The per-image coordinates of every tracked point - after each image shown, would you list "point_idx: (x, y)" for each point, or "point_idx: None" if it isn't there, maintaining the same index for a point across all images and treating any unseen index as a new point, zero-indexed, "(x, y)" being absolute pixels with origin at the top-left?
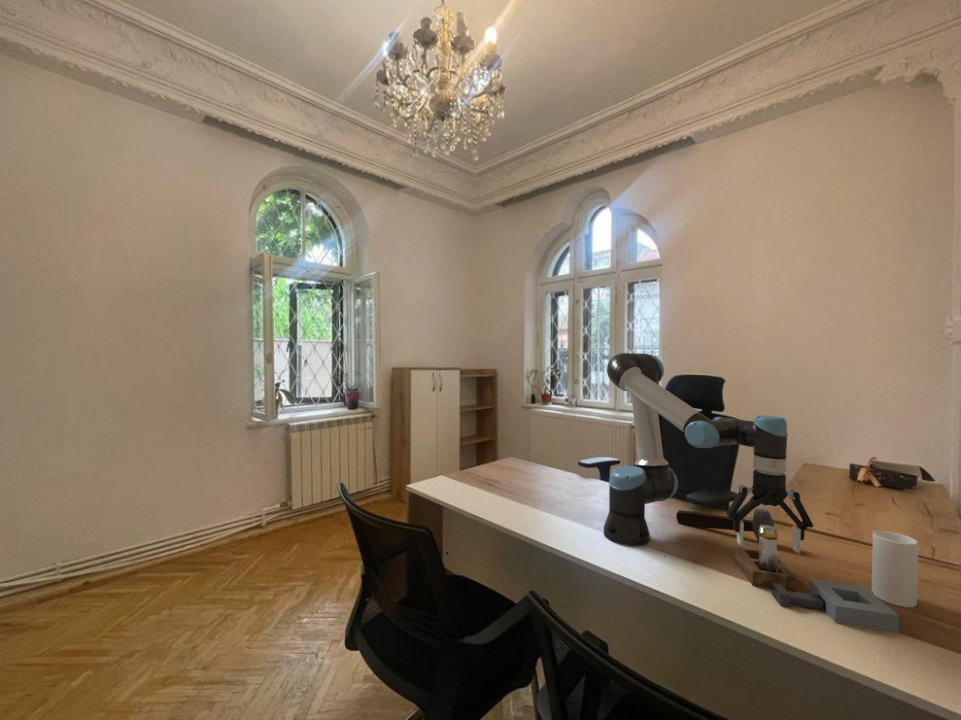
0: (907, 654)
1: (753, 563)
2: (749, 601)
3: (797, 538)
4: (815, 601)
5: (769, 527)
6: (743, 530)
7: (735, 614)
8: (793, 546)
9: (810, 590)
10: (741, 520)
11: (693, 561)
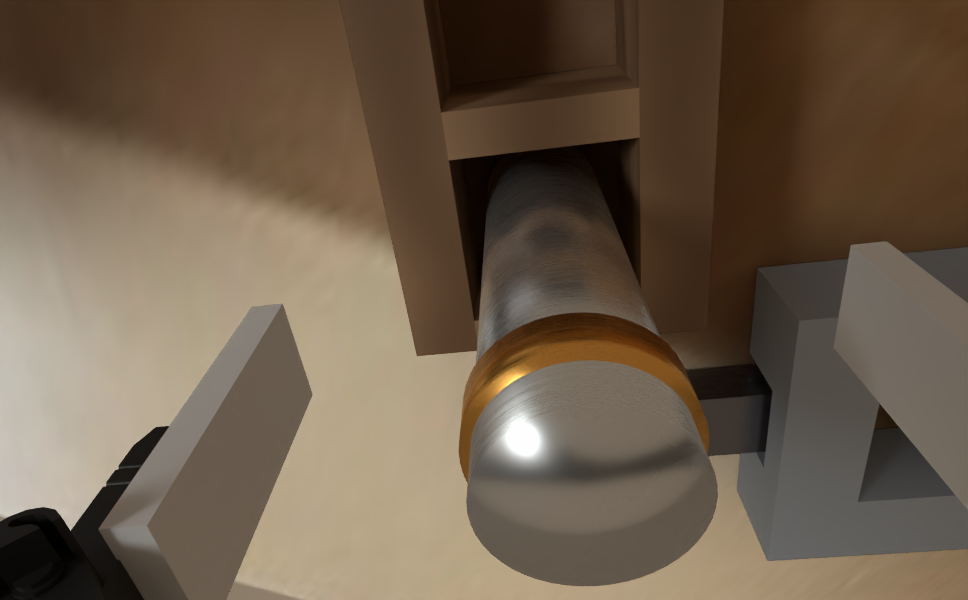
0: (897, 585)
1: (445, 220)
2: (386, 462)
3: (933, 467)
4: (712, 453)
5: (612, 498)
6: (253, 533)
7: (317, 568)
8: (863, 295)
9: (769, 301)
10: (170, 575)
11: (29, 86)
